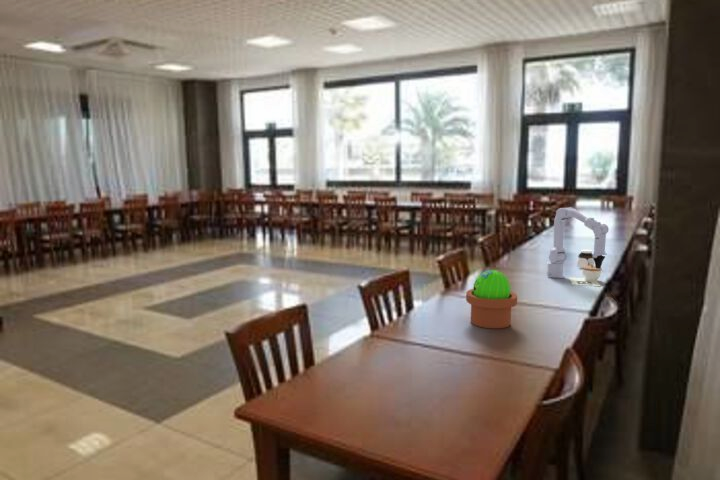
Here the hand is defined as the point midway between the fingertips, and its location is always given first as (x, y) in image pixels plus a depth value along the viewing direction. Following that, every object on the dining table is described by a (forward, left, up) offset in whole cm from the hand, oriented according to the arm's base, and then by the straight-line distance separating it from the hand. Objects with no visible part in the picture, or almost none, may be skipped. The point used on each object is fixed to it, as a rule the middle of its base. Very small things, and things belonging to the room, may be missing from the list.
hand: (598, 268), depth 306 cm
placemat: (-6, +8, -10) cm, 15 cm away
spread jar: (+2, +54, -11) cm, 55 cm away
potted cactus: (-60, -87, -11) cm, 106 cm away
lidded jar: (-1, +14, -10) cm, 18 cm away
